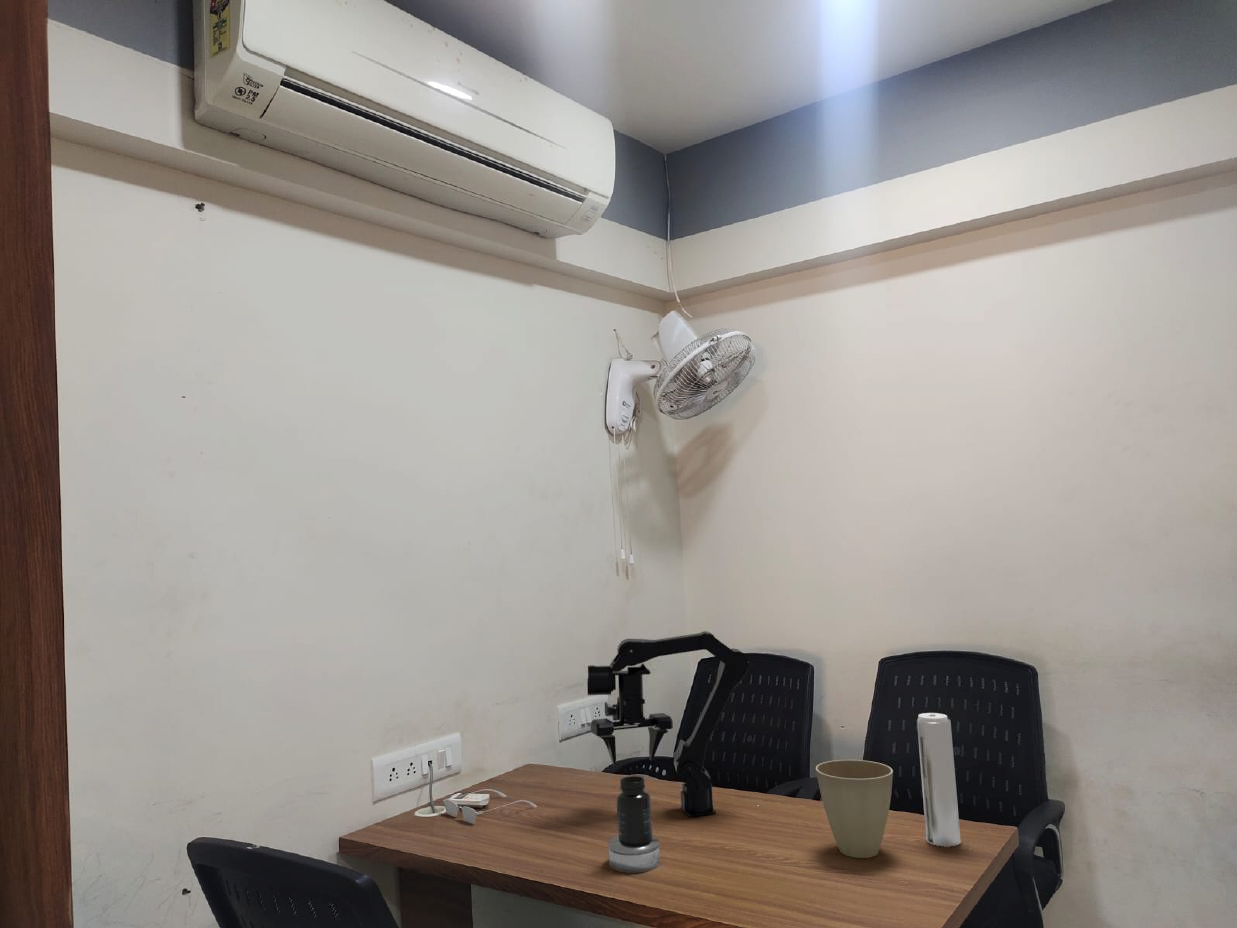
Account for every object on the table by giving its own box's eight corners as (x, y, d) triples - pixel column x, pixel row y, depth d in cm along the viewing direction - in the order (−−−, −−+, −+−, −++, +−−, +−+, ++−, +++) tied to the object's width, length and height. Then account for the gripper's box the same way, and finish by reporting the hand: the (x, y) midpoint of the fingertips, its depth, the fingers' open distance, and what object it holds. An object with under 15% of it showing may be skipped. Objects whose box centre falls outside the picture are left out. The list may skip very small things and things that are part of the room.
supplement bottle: (643, 833, 168) (640, 772, 169) (658, 843, 162) (655, 780, 163) (612, 839, 165) (610, 777, 167) (627, 850, 159) (624, 785, 160)
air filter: (963, 847, 163) (952, 717, 166) (929, 846, 165) (918, 718, 167) (957, 836, 170) (946, 711, 172) (924, 835, 171) (914, 711, 173)
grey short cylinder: (650, 850, 170) (649, 830, 170) (667, 867, 160) (665, 846, 160) (603, 857, 167) (602, 837, 167) (617, 875, 157) (616, 853, 158)
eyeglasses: (442, 814, 201) (441, 797, 201) (504, 797, 213) (503, 781, 213) (476, 828, 190) (476, 810, 190) (540, 809, 202) (539, 792, 202)
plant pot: (894, 869, 154) (887, 781, 156) (814, 860, 160) (808, 775, 162) (903, 842, 168) (897, 761, 169) (829, 834, 174) (823, 756, 175)
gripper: (655, 685, 205) (657, 750, 204) (583, 691, 199) (584, 758, 198) (672, 692, 195) (674, 760, 193) (596, 699, 189) (598, 769, 187)
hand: (632, 762), depth 193 cm, fingers open, 9 cm apart
